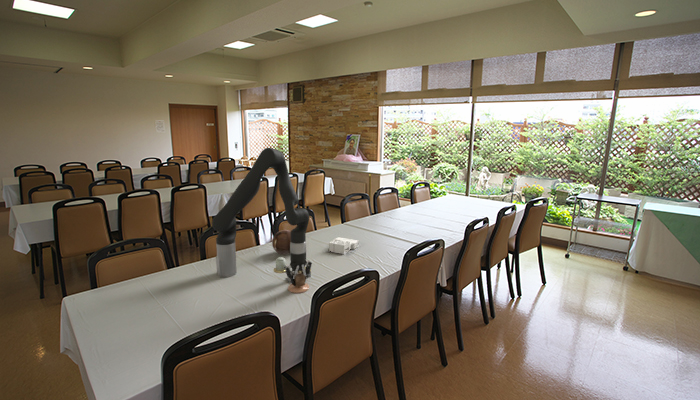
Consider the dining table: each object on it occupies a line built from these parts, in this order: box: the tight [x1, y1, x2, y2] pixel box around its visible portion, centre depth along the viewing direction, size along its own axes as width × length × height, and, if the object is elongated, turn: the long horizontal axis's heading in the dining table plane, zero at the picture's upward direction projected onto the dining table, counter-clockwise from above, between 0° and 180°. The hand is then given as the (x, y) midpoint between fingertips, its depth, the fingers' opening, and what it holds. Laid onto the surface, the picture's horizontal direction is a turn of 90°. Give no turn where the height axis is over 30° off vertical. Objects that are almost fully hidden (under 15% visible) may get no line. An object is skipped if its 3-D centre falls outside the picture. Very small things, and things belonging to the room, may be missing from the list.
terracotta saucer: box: [287, 282, 310, 294], centre depth 167 cm, size 10×10×1 cm
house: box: [328, 236, 360, 255], centre depth 222 cm, size 22×18×6 cm
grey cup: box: [275, 256, 287, 271], centre depth 170 cm, size 5×5×6 cm
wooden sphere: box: [271, 229, 291, 256], centre depth 211 cm, size 15×15×15 cm
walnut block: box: [295, 272, 306, 287], centre depth 166 cm, size 4×4×5 cm
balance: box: [273, 266, 312, 284], centre depth 175 cm, size 20×7×7 cm, turn 126°
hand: (298, 283), depth 167 cm, fingers closed on walnut block, 4 cm apart
